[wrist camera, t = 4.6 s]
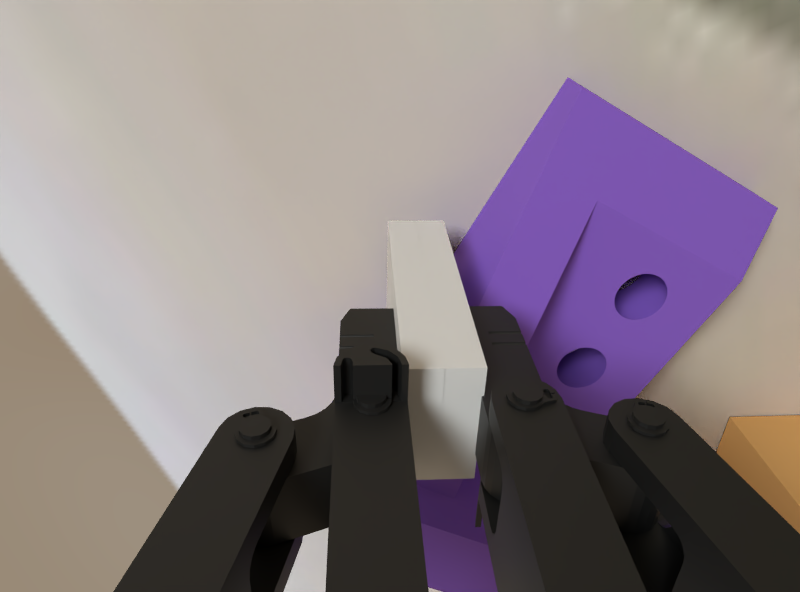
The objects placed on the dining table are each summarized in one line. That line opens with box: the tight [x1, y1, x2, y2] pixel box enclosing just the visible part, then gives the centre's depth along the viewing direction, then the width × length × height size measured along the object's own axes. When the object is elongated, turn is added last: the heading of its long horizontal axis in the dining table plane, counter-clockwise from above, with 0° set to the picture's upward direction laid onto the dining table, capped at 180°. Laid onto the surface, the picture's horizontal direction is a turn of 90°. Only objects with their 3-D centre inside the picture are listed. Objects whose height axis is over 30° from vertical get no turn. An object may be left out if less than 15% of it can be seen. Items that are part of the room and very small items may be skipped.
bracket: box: [416, 78, 778, 592], centre depth 17 cm, size 12×7×7 cm, turn 151°
